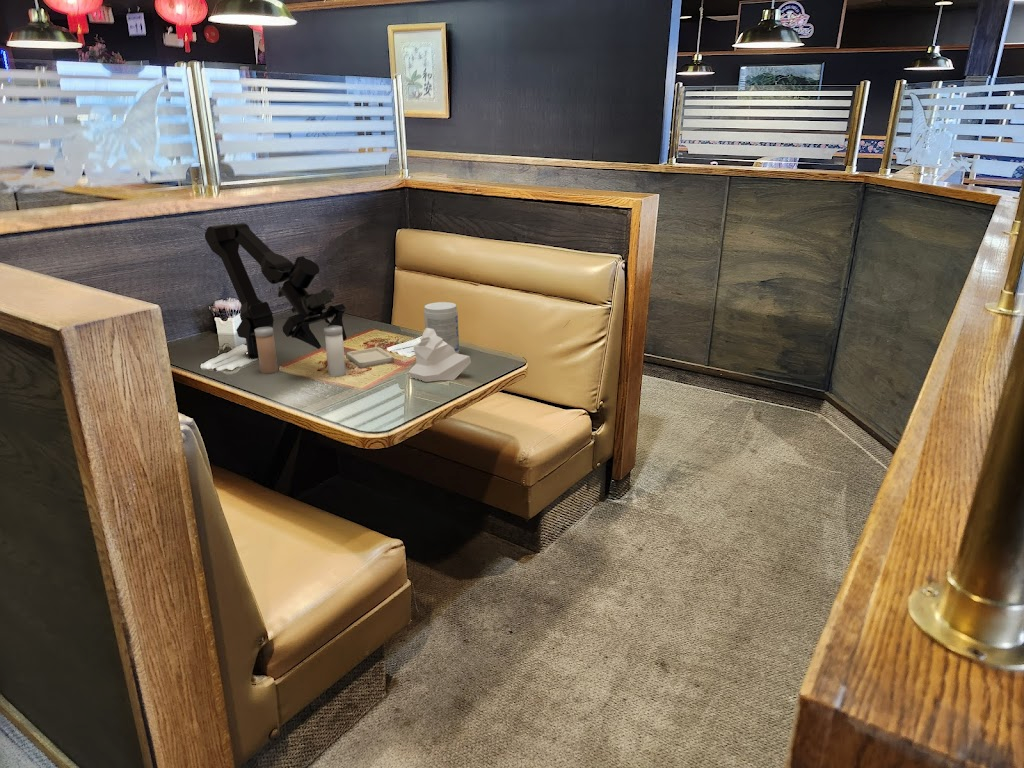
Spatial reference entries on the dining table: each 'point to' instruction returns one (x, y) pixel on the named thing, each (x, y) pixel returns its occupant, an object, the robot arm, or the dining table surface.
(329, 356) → the salt shaker
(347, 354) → the tray
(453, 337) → the supplement tub
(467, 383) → the dining table surface
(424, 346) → the white faceted sculpture
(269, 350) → the pepper shaker
